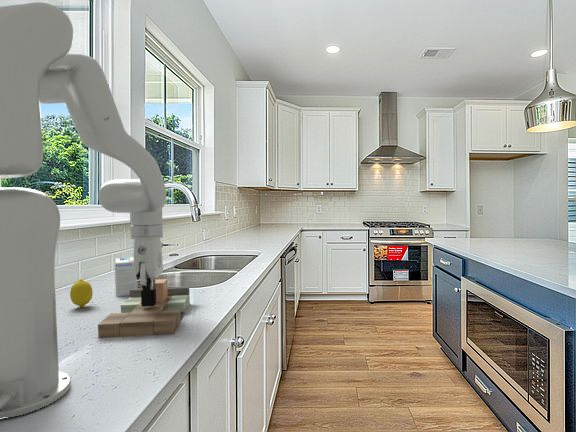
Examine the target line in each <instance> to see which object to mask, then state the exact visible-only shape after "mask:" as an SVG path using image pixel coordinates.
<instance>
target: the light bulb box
mask: <svg viewBox="0 0 576 432" xmlns="http://www.w3.org/2000/svg"><path fill="white" fill-rule="evenodd" d="M114 261H115V262H114V286H115V297H122V296H123V297H124V296H130V290H131V289H139V287H138V285H139V283H138V281H139V280H136V279H135V276H134V256H133V257H132V256H131V257H122V258H121V257H120V258H115V259H114Z"/></svg>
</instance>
